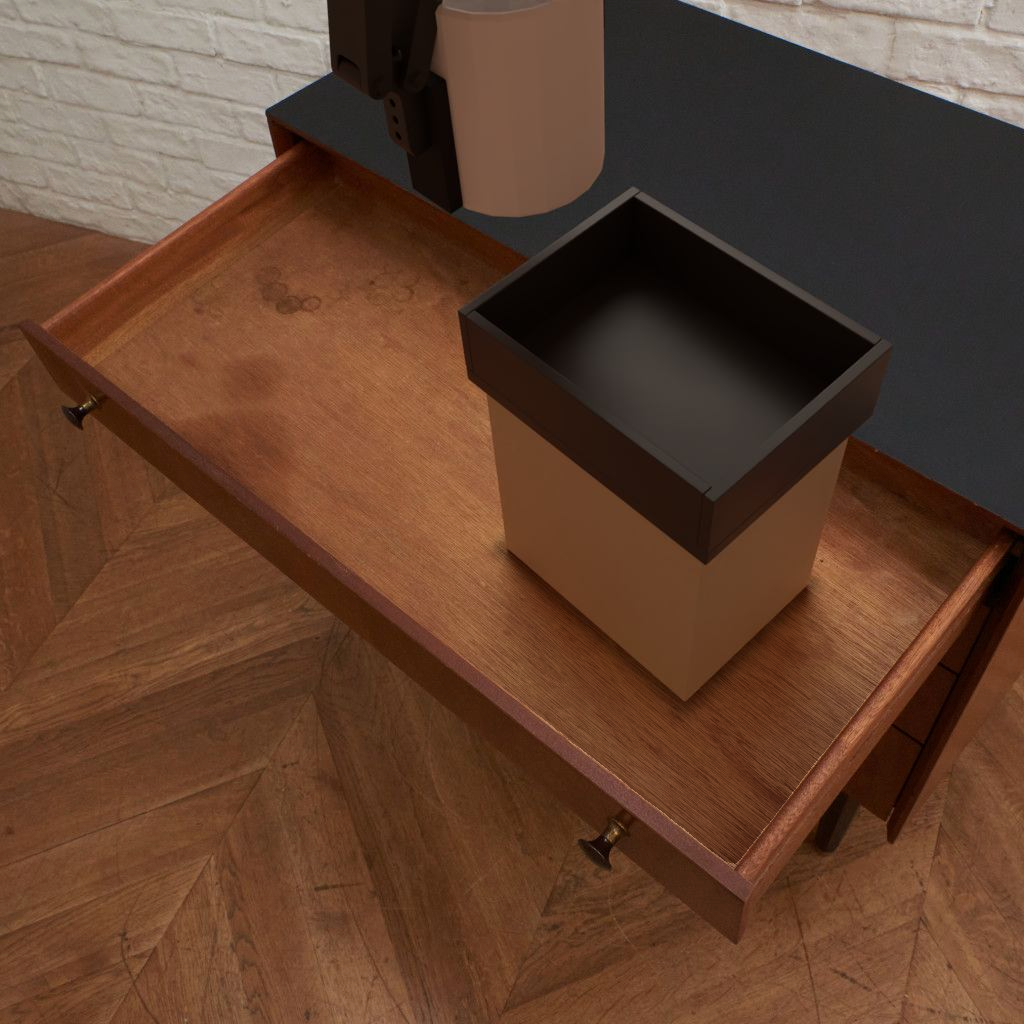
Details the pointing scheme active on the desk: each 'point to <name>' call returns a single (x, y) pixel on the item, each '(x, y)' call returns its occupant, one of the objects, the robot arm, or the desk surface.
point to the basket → (673, 368)
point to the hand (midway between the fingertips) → (507, 150)
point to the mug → (523, 100)
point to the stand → (654, 558)
